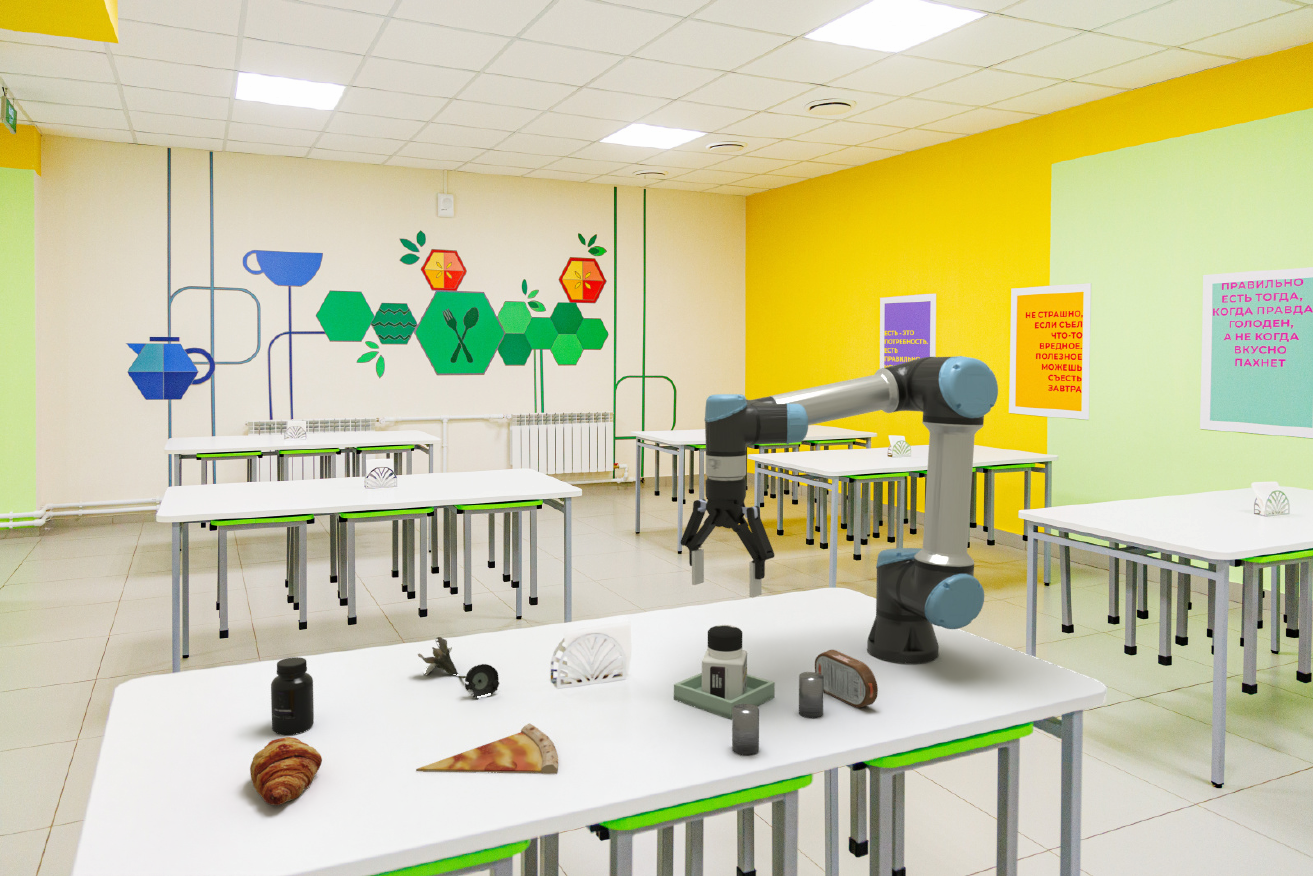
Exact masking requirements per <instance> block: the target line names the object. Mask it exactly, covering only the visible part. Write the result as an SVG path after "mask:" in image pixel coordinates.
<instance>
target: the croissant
mask: <svg viewBox="0 0 1313 876" xmlns="http://www.w3.org/2000/svg"><path fill="white" fill-rule="evenodd" d="M322 762H323V758H322V755H321V754H320V753H319V751H318V750H317V749H316V748H315V747H313V746H310V745H309V744H308V743H305V742H304V741H301V740H300V739H299V738H296V737H291V736H286V737H281V738H276V739H273V740H271V741H269V742H268V743H267V745H265V746H264V748H262V749H261V750H259V751H257V753H255V754H254V756H253V758H252V761H251V764H250V767H249V770H250V778H251V779H250V780H251V782H252V785H253V787H254V789H255V791H256V792H257V793H258V794H259V795H260V797H261V798H262V800H263V801H264V802H265V803H267V804H269V805H271V806H281V805H283V804H285V803H286V802H288V801H289V802H290V801H292V800H294V799H297V798H298V797H300V796H301V794H302V793H303V792H304V790H305V789H307V788H308V787H309V786H310V785H311V784H312V782H313V780H314V777H315V776H316V775H317V773H318V771H319V769H320V767H321V765H322Z"/></svg>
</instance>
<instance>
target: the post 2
mask: <svg viewBox="0 0 1313 876" xmlns="http://www.w3.org/2000/svg"><path fill="white" fill-rule="evenodd" d="M824 692H825V691H824V676H823V675H821V674H819V673H815V671H807V672H805V671H804V672H801V673H800V674H798V715H799V716H800V717H803V718H806V719H813V720H814V719H820V718H822V717H824Z"/></svg>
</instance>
